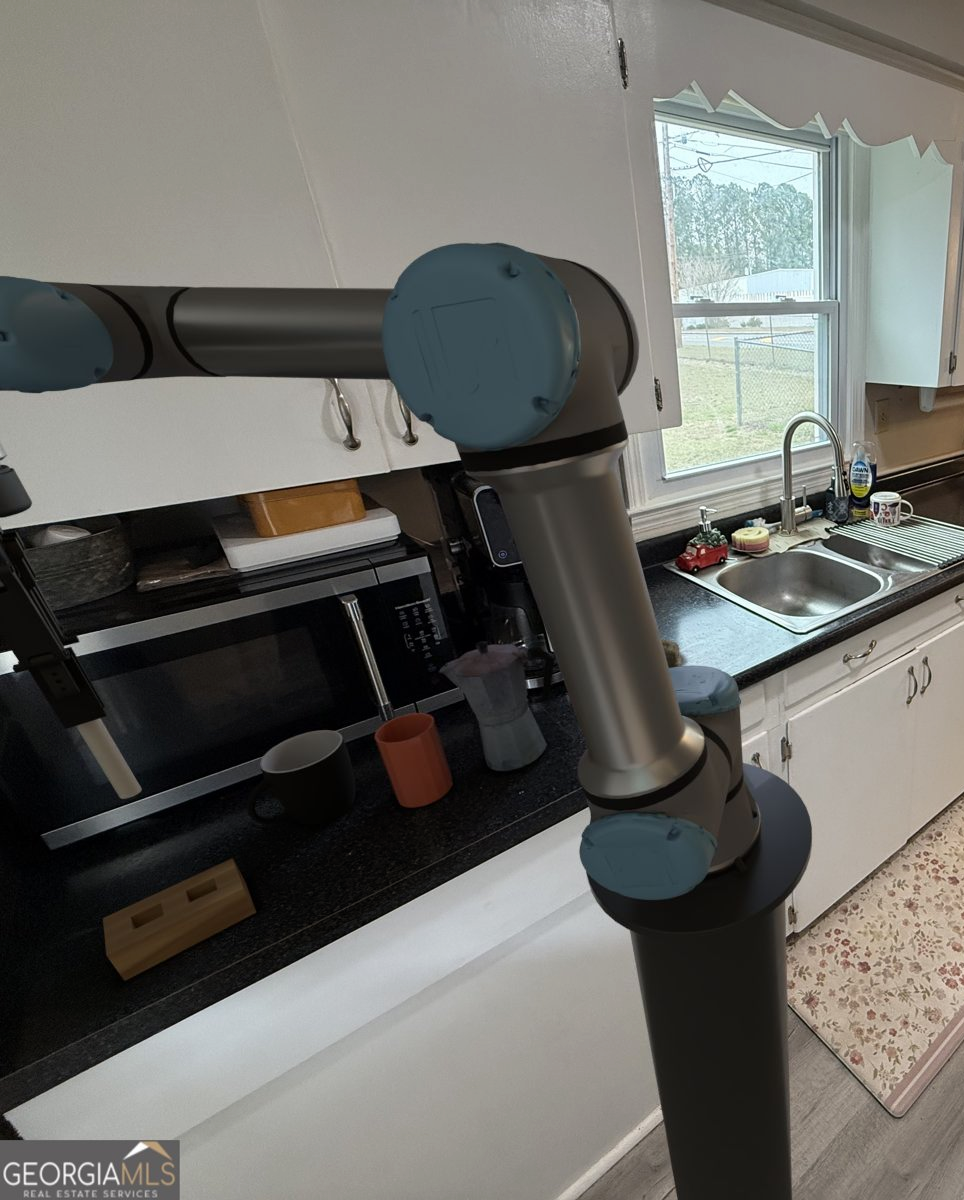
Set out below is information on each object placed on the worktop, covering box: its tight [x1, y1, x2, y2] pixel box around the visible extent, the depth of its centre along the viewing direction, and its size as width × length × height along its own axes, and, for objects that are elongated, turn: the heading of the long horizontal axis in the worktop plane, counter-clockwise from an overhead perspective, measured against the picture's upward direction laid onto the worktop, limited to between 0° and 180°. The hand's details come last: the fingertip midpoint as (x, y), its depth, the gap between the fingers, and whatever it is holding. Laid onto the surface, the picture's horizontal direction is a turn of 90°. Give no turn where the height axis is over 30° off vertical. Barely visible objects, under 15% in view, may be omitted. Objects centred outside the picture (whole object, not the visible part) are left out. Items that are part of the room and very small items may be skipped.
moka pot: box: [438, 640, 555, 772], centre depth 93 cm, size 10×15×20 cm, turn 110°
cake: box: [661, 639, 684, 668], centre depth 121 cm, size 10×10×5 cm
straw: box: [75, 718, 143, 800], centre depth 59 cm, size 2×2×18 cm
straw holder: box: [102, 857, 257, 982], centre depth 68 cm, size 6×11×4 cm, turn 138°
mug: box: [246, 729, 356, 826], centre depth 83 cm, size 12×9×10 cm
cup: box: [373, 712, 453, 808], centre depth 87 cm, size 7×7×11 cm
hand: (85, 716), depth 59 cm, fingers closed on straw, 1 cm apart
